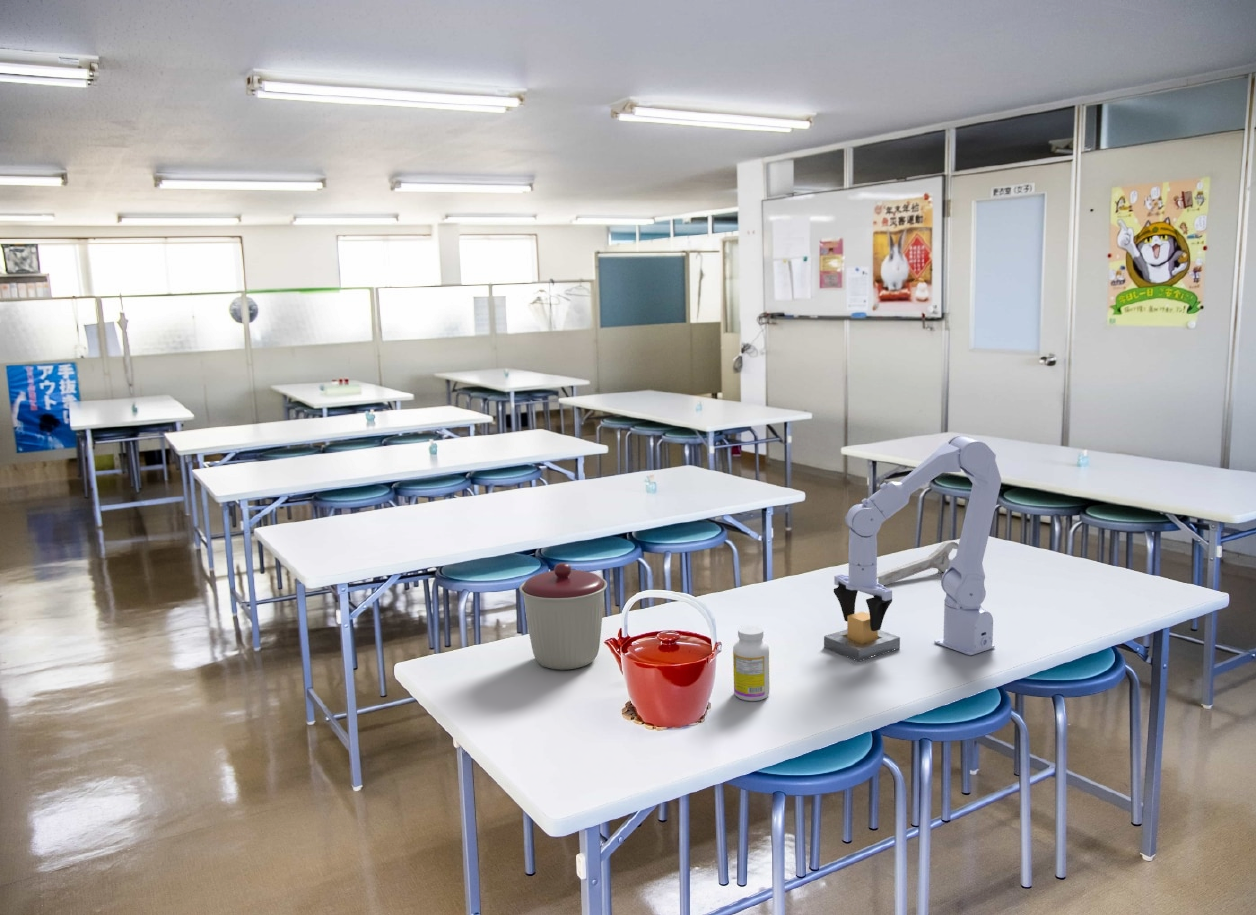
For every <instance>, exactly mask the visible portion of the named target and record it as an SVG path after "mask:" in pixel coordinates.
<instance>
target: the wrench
mask: <svg viewBox="0 0 1256 915" xmlns="http://www.w3.org/2000/svg"><path fill="white" fill-rule="evenodd" d="M958 545H959V543H957V542H955V541H953V540H945V541H943V542H942V543H941V544H940V545H939V546H938V548H936V549H935V550H934V551H933V552H931V553H930V554H929V555H928V556H927V557H924V558H921V559H918V560H915V561H912V562H908V563H906V564H902V565H900V566H896V567H894V568H891V569H889V570H886V571H883V572H880V573H877V583H879V584H881V585H885V586H887V585H890V584H893V583H896V582H898V581H900V580H903V579H906V578H908V577H911V576H914V575H916V574H920V573H922V572H925V571H927V570H930V569H937V570H938V571H937V573H938V574H941V573H942V572H943V573H942V574H944V573H945V572H946V571H947V569H948V567H949V564H950V561H951V560H952V559H953V558H950V557H949V556H950V553H951V552H952V550H953V549H954V550H957V549H958Z"/></svg>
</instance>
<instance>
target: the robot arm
mask: <svg viewBox="0 0 1256 915" xmlns="http://www.w3.org/2000/svg"><path fill="white" fill-rule="evenodd" d="M996 456H997V454H996V453H995V452H994V451H993V450H992V449H991V448H990V447H989V445H987V444H986V443H985V442H983V441H980V440H976V439H973V438H972V437H970V436H967V435H964V434H959V435H956V436H955V435H954V436H953V437H951V439H950V440H949V441H947V442H945V443H943V444H941V445H940V446H939V447H938V448H937V449H936V450H935V451H934V452H933V453H932V454H931V455H930V456H928V457H927V458H926V459H925V460H924V461H922V463H920V464H918V466H916V467H915V468H914V469H913V470H912V471H911V472H909V474H907V475H906V476H905V477H904V478H902V479H901V480H900V481H889V482H887V483H886V482H883V483H882V484H880V485H879V487H880V488H879V490H877V491H876V492H874V493H873V494H872V495H870V496H869V497H868V498H866V497H864V498H863V499H862V500H861V502H862V503H857V504H855V505H853V506H851V507H850V508H849V509H848V512H847V513H846V516H845V517H844V519H845V520H844V521H845V523H846V525H847V526H848V527H849V529H848V575H845V574H841V573H840V574H836V575H834V576H833V577H834V582H833V583H834V585H835V586H837V587H834V589H833V593H834V595H835V596H836V599H837V600H838V602H839V606H840V608H841V611H842V612H841V613H842V616H843V619H844V621H845V622H847V616H848V615H852V614H855V613H856V611H855V610H856V609H855V608H856V600H857V596H858V592H861V593H864V594H867V595H870V596H873V597H870V598H867V599H865V602H866V606H867V608H868V614H870V627H871V631H877V630H882V624H883V620H884V617H885V615H886V612H887V610H888V609H889V607H890V605H891V604H892V602H893V590H892V589H891V588H888V587H886V586H882V585H881V584H879V583H878V578H877V574H878V572H877V571H878V567H877V566H878V541H877V536H878V535H877V534H878V533H879V531H880V529H881V528H882V524H883V523H884V522H885V521H887V520H888V519H889V518H891V517H892V516H893V515H895V514H896V513H898V512H899V511H901V509H903V508H905V506H907V505H908V504H909V502H910V497H911V495H912V494H913V493H915V492H916V491H918V490H919V489H921V488H922V487H923V486H925V485H927V484H928V483H929V482H931V481H933V479H935V478H937V477H938V476H940V475H941V474H942V473H960V472H962V471H963V473H964V474H965V475H966V477H967V478H968V479H969V481H970V482H971V483H972V485H971V490H970V494H969V498H968V504H967V508H966V511H965V516H964V521H963V524H962V528H961V533H960V538H959V542H958V549H956V555H955V556H953V558H951V559H952V560H951V561H950V564H949V567H948V569H946V571H945V573H942V577H941V579H940V586H941V588H942V590H943V592H944V593H945V595H946V596H945V598H944V606H943V607H944V611H943V637H940V638H938V639H935V640H934V641H933V642H934V643H935V644H937V645H940V646H942V647H946V648H947V649H951V650H954V651H957V652H959V653H961V654H965V655H967V656H973V655H977V654H979V653H982V652H985V651H986V652H987V651H988V650H992V649H995V648H996V646H995V644H993V640H994V638H993V636H994V618H993V614H992V613H991V612H989V611H988V610H985V609H984V608H983V607H982V603H983V602H984V601H985V600H986V599H985V598H986V588H985V579H986V573H985V570H984V566H983V561H984V556H985V553H986V549H987V544H988V539H989V536H990V532H991V528H992V523H993V519H994V514H995V510H996V507H997V503H998V502H997V501H998V499H999V494H1000V489H1001V485H1002V478H1001V472H1000V470H999V468H998V465H997V461H996Z"/></svg>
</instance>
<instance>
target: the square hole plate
mask: <svg viewBox="0 0 1256 915" xmlns="http://www.w3.org/2000/svg"><path fill="white" fill-rule="evenodd" d="M825 647H826V648H825ZM823 648H825V649H827V648H828V649H827V650H829V649H830V651H832V652H834V651H835V653H837V654H839V655H842V656H844V655H845V656H844V657H846V656H848V657H847V658H849V657H850V658H849V659H851V658H852V659H851V660H854V659H855V660H854V661H856V660H857V662H858V661H859V662H861V661H860V660H862V661H864V660H863V659H865V660H867V659H866V658H868V659H870V658H869V657H871V656H874V655H878V656H880V655H879V654H881V655H884V654H883V653H885V652H888V651H891V652H893V651H892V650H894V649H897V650H899V649H898V648H900V649H901V637H900V636H898V635H895V634H891V633H889V632H886V631H883V630H882V629H880V630H878V639H877V640H873V641H870V642H867V643H863V644H861V643H859V642H856V641H853V640H851V639H848V638H847V629H844V630H841V631H837V632H834V633H830V634H827V635H824V636H823ZM894 651H895V650H894ZM888 653H889V652H888ZM885 654H886V653H885Z"/></svg>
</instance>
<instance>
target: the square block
mask: <svg viewBox="0 0 1256 915" xmlns="http://www.w3.org/2000/svg"><path fill="white" fill-rule="evenodd" d="M846 622H847V623H846V624H847V629H846V630H847V638H848V639H851V640H853V641H856V642H859V643H861V644H863V643H867V642H870V641H873V640H877V639H878V630H877V631H871V627H870V613H869V612H865V611H858V612H855V614H852V615H848V616H847V621H846Z"/></svg>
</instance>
